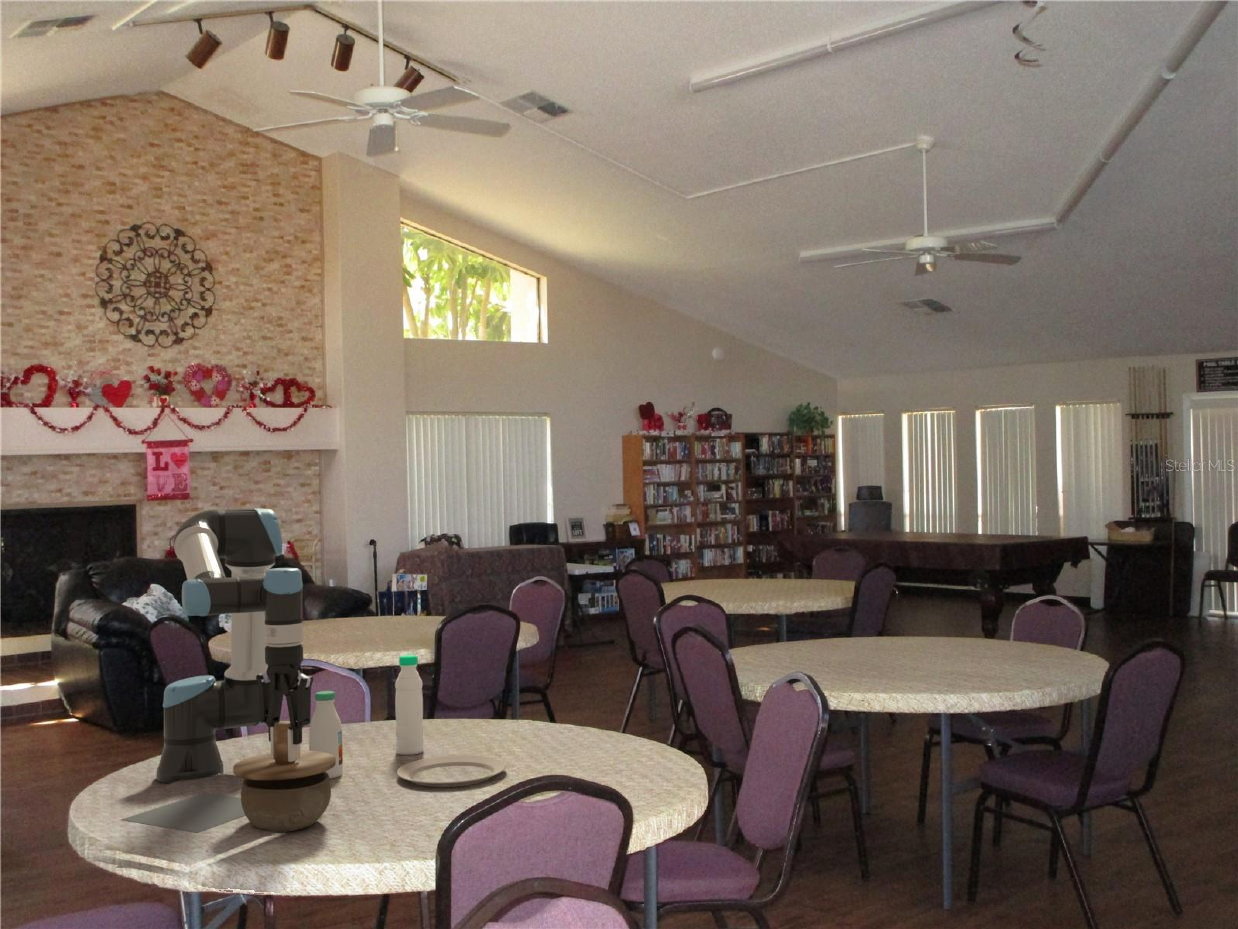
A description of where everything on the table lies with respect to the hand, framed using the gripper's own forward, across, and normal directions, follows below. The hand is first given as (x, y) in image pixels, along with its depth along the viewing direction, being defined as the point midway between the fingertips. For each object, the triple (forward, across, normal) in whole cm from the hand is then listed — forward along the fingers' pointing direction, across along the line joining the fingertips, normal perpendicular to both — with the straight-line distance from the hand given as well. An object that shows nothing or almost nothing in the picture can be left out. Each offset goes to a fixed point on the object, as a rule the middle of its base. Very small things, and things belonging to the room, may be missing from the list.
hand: (285, 758), depth 225 cm
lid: (+2, 0, 0) cm, 2 cm away
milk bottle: (+14, -20, +34) cm, 42 cm away
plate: (+14, +8, +46) cm, 49 cm away
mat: (+14, -22, -2) cm, 26 cm away
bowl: (+14, 0, 0) cm, 14 cm away
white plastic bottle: (+14, -16, +61) cm, 65 cm away
